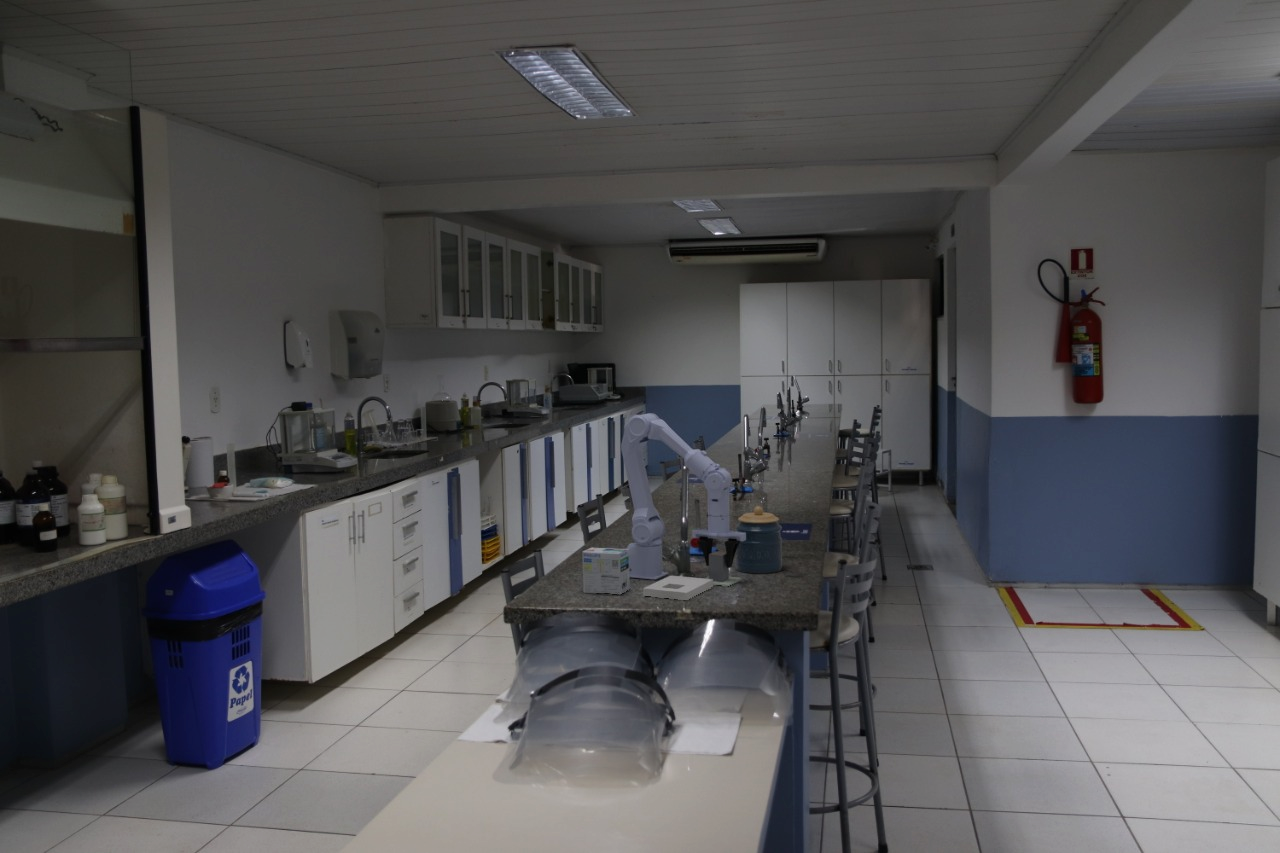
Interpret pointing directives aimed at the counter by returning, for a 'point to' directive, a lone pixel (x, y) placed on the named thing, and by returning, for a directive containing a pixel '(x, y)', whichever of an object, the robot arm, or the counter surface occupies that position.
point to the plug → (718, 567)
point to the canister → (759, 543)
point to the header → (678, 587)
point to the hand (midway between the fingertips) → (719, 566)
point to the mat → (727, 582)
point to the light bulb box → (606, 570)
